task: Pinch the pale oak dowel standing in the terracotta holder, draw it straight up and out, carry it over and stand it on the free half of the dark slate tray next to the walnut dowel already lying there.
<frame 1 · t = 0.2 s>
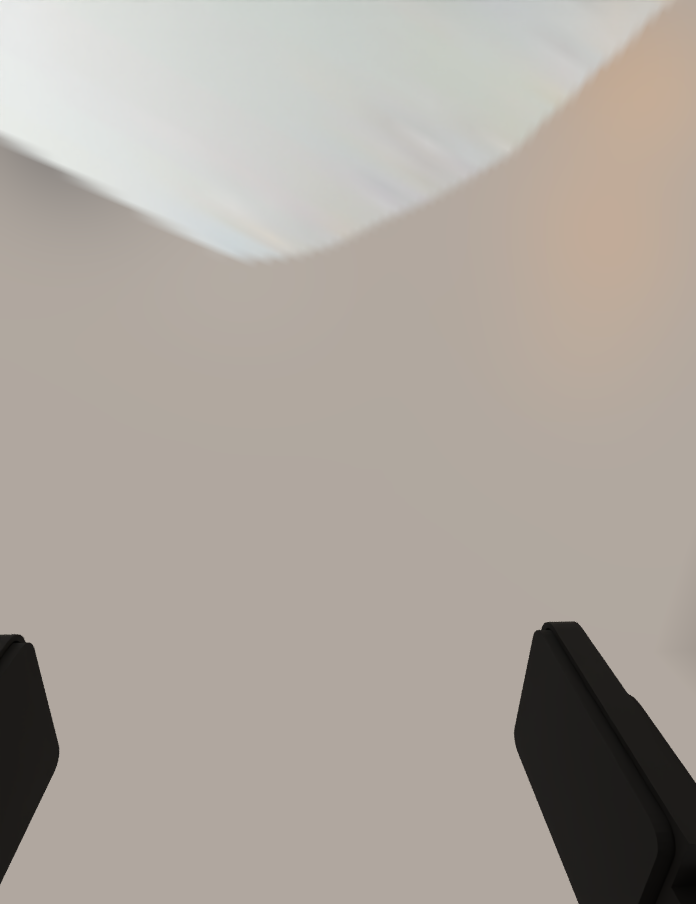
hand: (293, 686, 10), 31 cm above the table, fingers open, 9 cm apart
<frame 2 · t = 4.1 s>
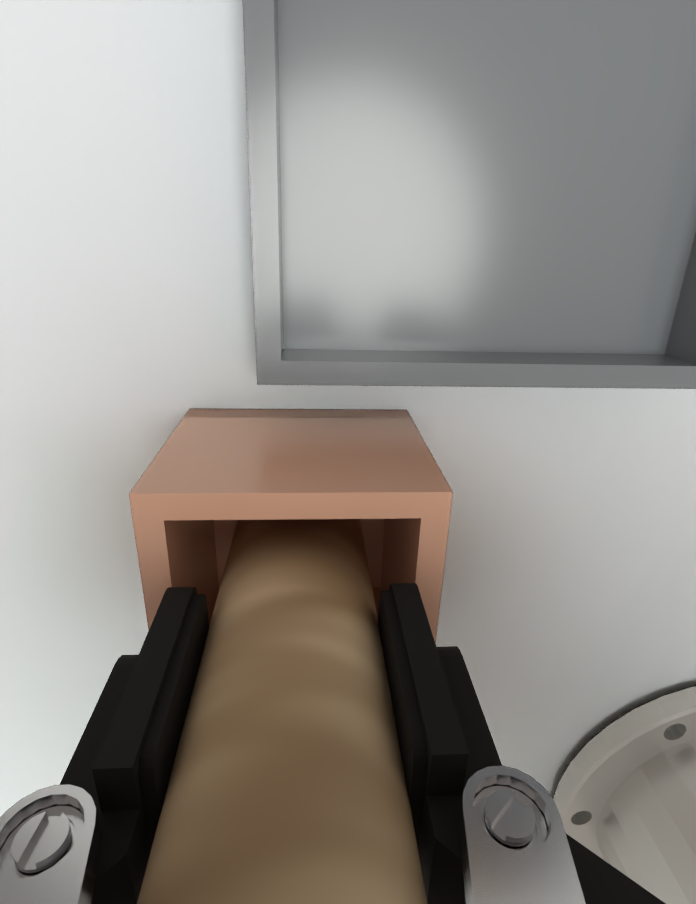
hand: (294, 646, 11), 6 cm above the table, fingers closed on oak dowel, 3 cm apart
tray: (509, 33, 12), on the table
oak dowel: (300, 517, 16), point 1 cm above the table, touching gripper, holder
holder: (300, 505, 17), on the table
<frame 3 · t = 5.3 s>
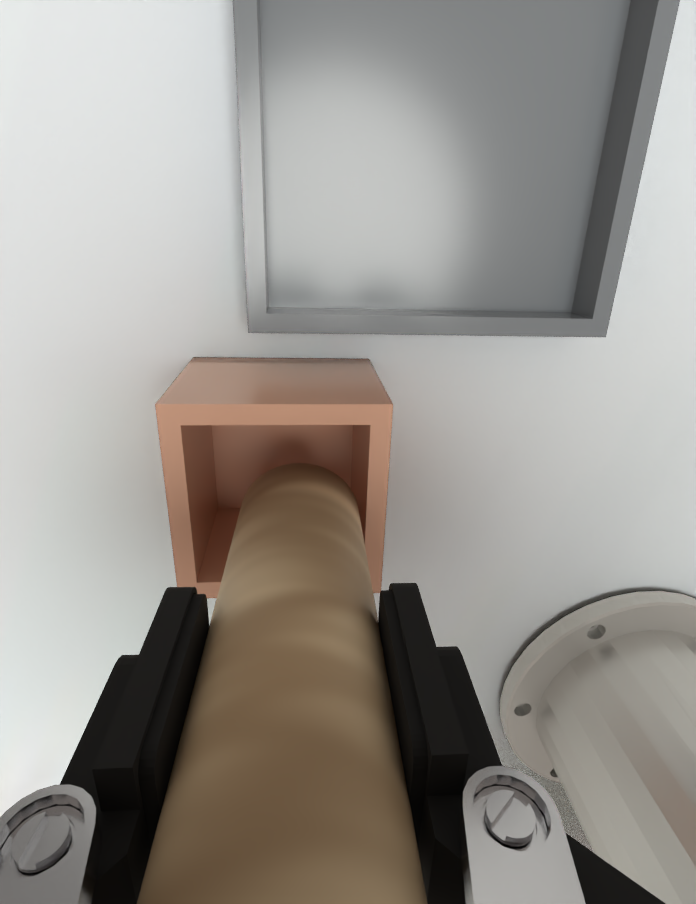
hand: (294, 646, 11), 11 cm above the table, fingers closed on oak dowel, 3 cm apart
tray: (440, 59, 16), on the table
oak dowel: (300, 517, 16), point 5 cm above the table, touching gripper
holder: (284, 438, 21), on the table
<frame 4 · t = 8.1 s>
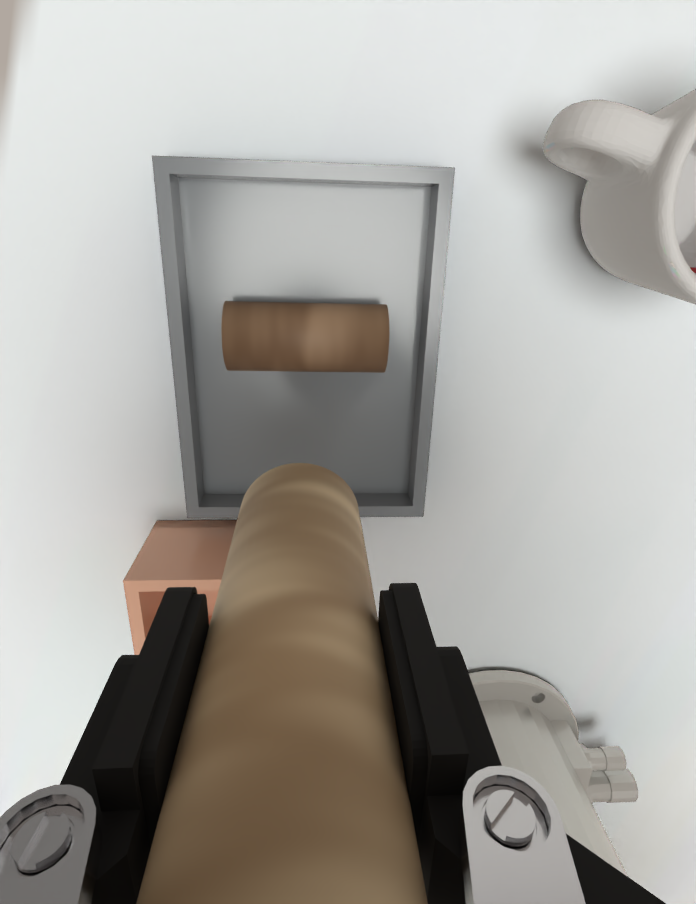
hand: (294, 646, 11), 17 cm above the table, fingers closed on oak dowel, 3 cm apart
tray: (307, 352, 26), on the table
oak dowel: (299, 517, 16), point 12 cm above the table, touching gripper
holder: (220, 569, 30), on the table
walnut dowel: (306, 314, 22), point 3 cm above the table, tilted 131°, touching tray
cup: (612, 193, 24), on the table
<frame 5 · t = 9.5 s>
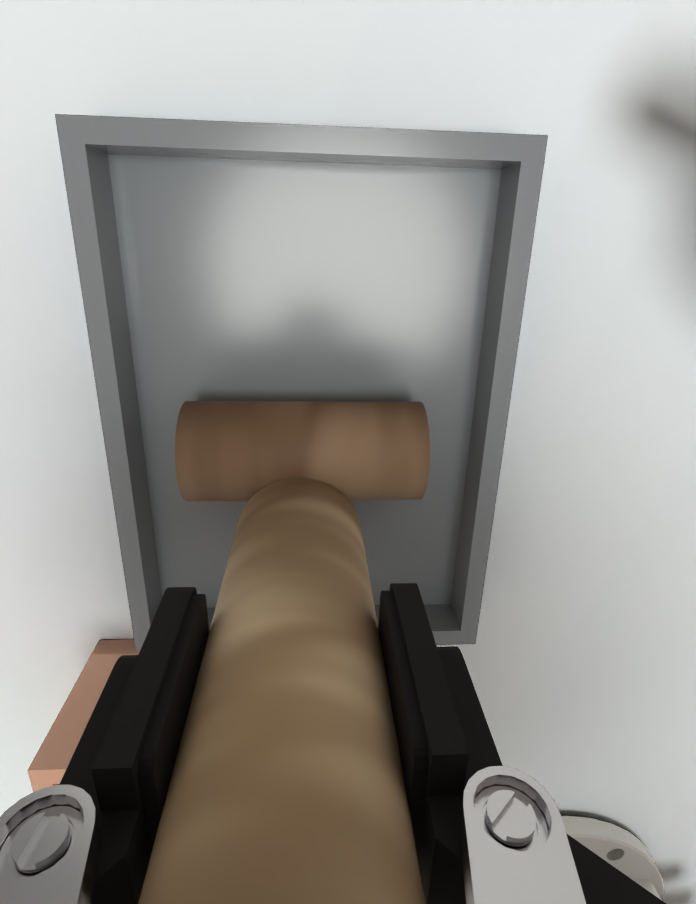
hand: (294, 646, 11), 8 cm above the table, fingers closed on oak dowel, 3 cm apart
tray: (309, 413, 18), on the table
oak dowel: (299, 533, 15), point 4 cm above the table, touching gripper, walnut dowel
holder: (189, 700, 22), on the table
walnut dowel: (304, 485, 15), point 3 cm above the table, tilted 160°, touching oak dowel, tray
when the fingers open (7 cm above the table, at t = 10.5 s): oak dowel drops 2 cm, resting on tray.
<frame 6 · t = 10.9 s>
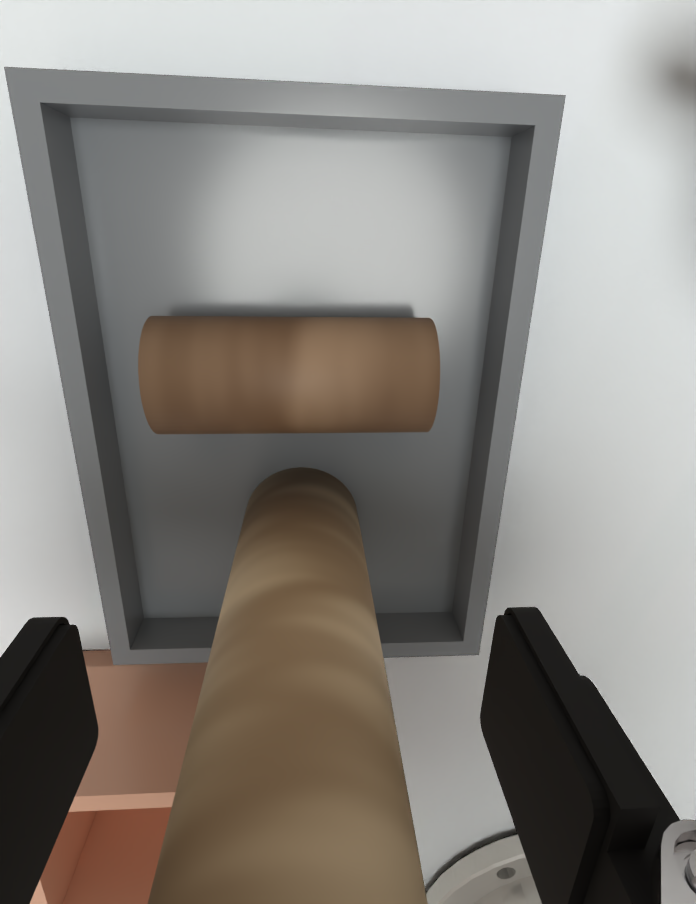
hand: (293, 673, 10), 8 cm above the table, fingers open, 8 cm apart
tray: (300, 408, 16), on the table
oak dowel: (301, 518, 17), point 1 cm above the table, touching tray
holder: (174, 712, 21), on the table
walnut dowel: (292, 348, 12), point 3 cm above the table, tilted 141°, touching tray
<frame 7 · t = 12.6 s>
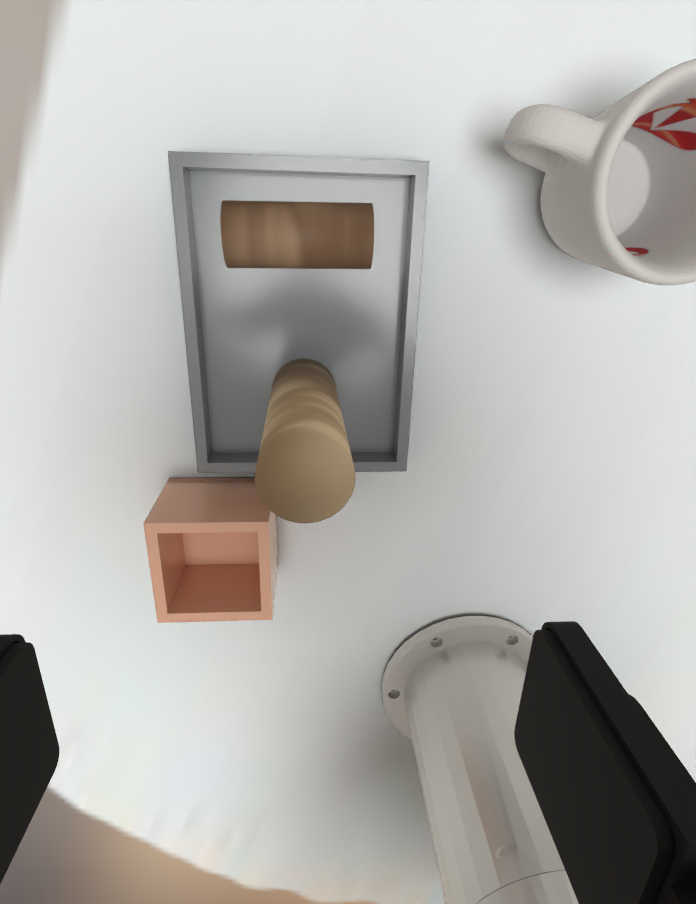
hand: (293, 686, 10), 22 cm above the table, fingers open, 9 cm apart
tray: (302, 325, 29), on the table
oak dowel: (304, 389, 30), point 1 cm above the table, touching tray
holder: (226, 522, 34), on the table
walnut dowel: (299, 222, 26), point 1 cm above the table, tilted 24°, touching tray
cup: (569, 183, 28), on the table
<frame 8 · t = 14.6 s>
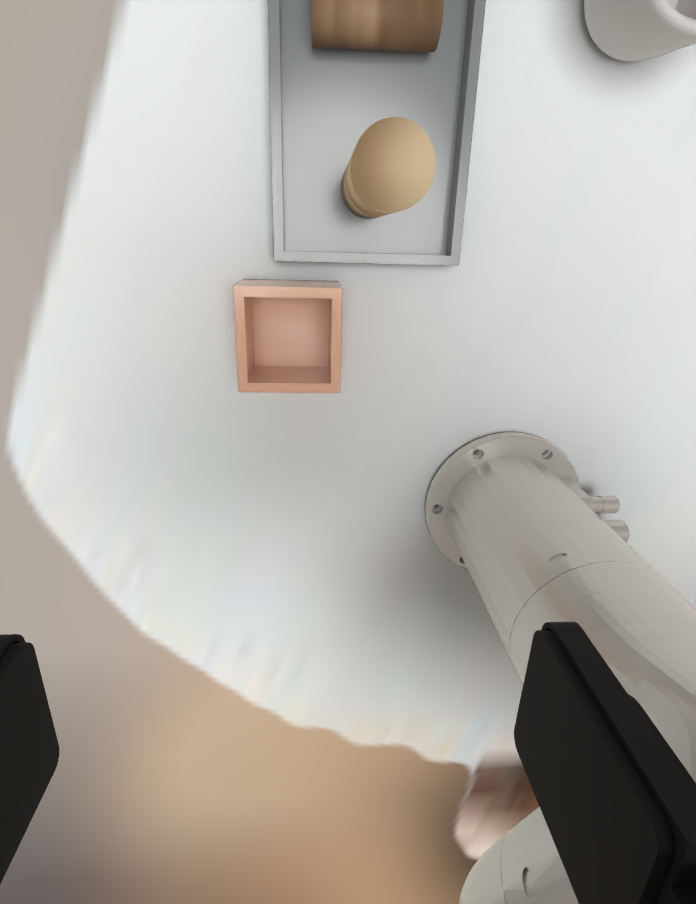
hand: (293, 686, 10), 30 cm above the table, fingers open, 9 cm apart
tray: (369, 126, 33), on the table
oak dowel: (369, 187, 34), point 1 cm above the table, touching tray
holder: (291, 327, 37), on the table
walnut dowel: (372, 18, 30), point 1 cm above the table, tilted 13°, touching tray
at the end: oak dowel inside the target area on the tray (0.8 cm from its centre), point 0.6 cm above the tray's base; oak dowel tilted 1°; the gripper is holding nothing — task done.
